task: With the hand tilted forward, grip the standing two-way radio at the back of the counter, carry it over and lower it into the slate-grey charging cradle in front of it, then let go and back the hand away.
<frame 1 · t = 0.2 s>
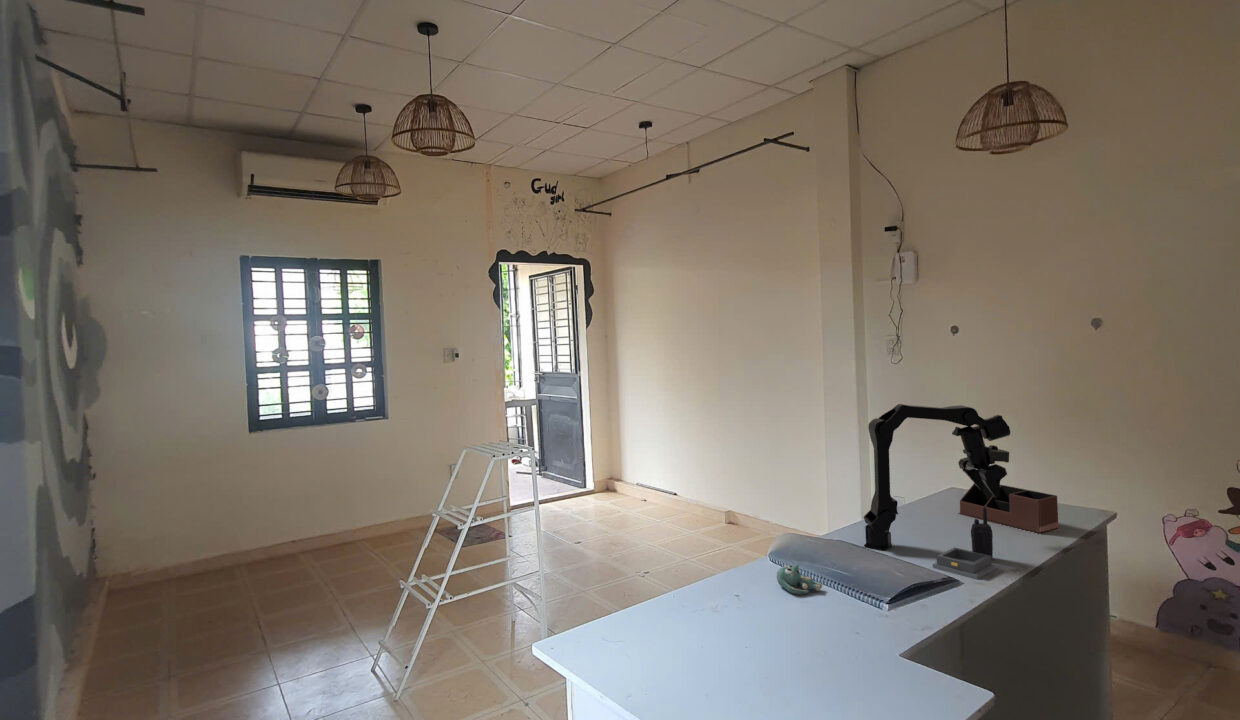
hand: (989, 493, 195), 15 cm above the table, fingers open, 9 cm apart
stuffed animal: (799, 589, 169), on the table
desk organizer: (1006, 522, 216), on the table
two-way radio: (983, 559, 183), on the table
charging cradle: (964, 568, 177), on the table
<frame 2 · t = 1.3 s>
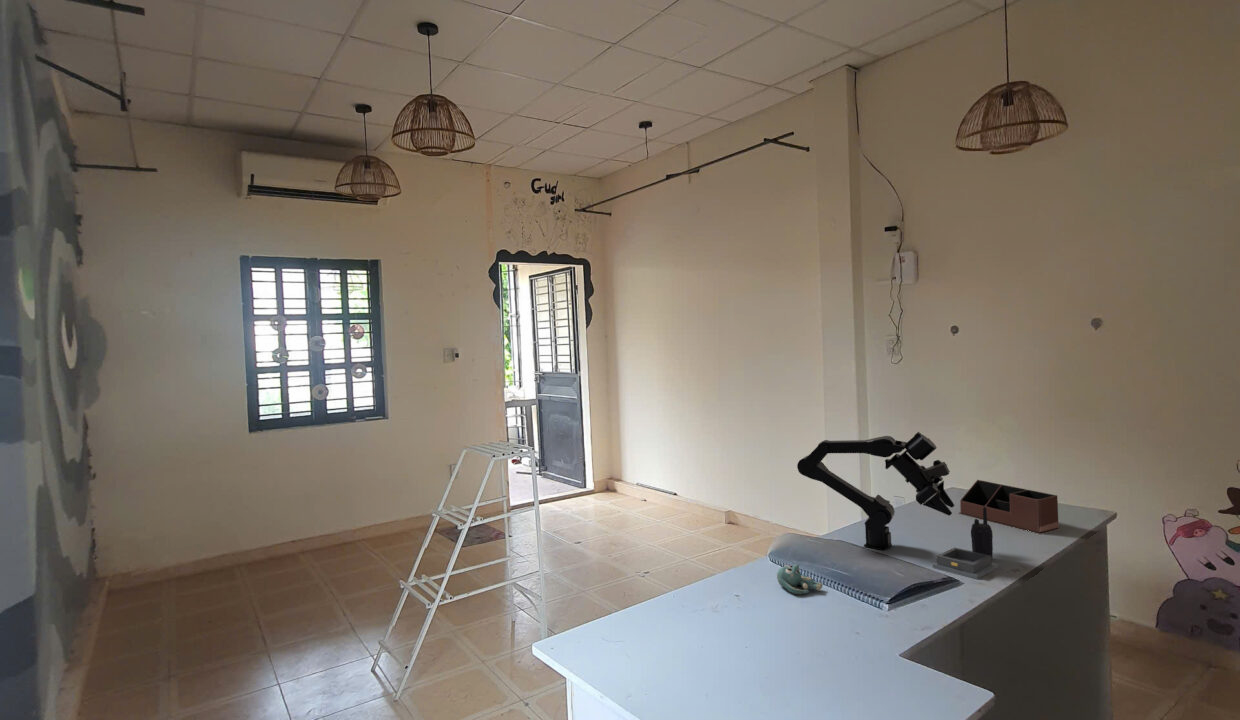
hand: (952, 510, 187), 13 cm above the table, fingers open, 9 cm apart
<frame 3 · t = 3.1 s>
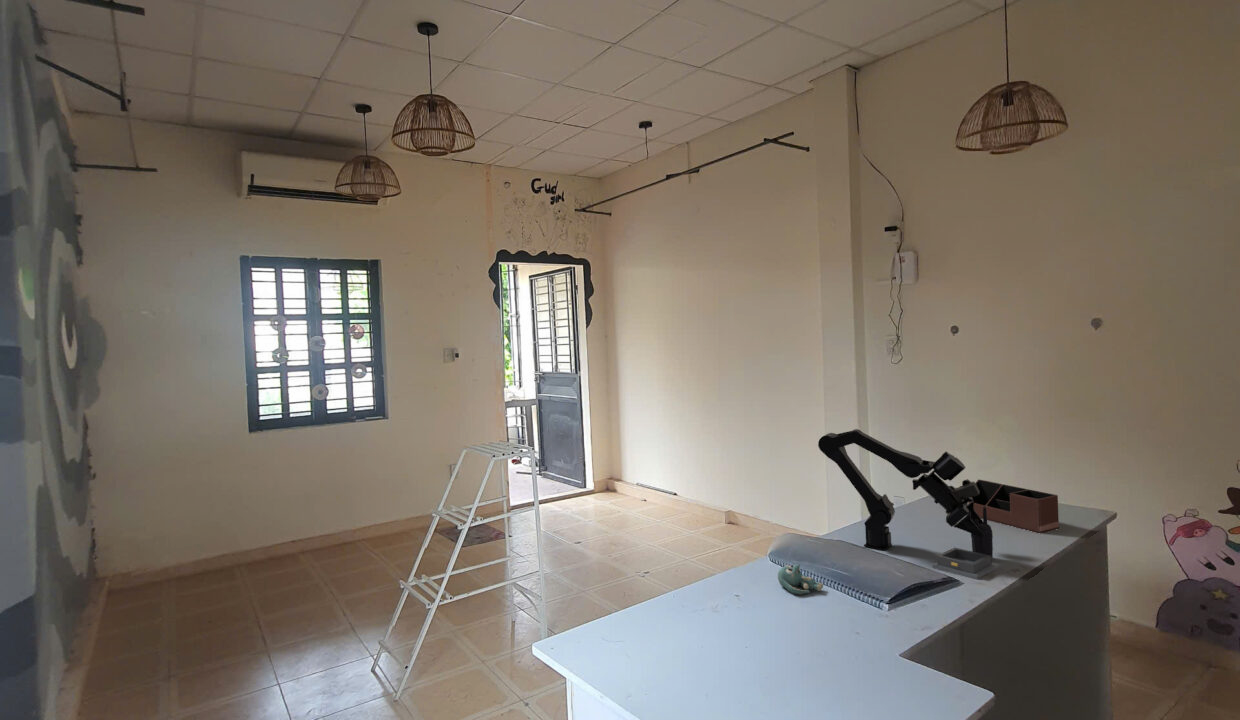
hand: (983, 531, 182), 8 cm above the table, fingers open, 9 cm apart
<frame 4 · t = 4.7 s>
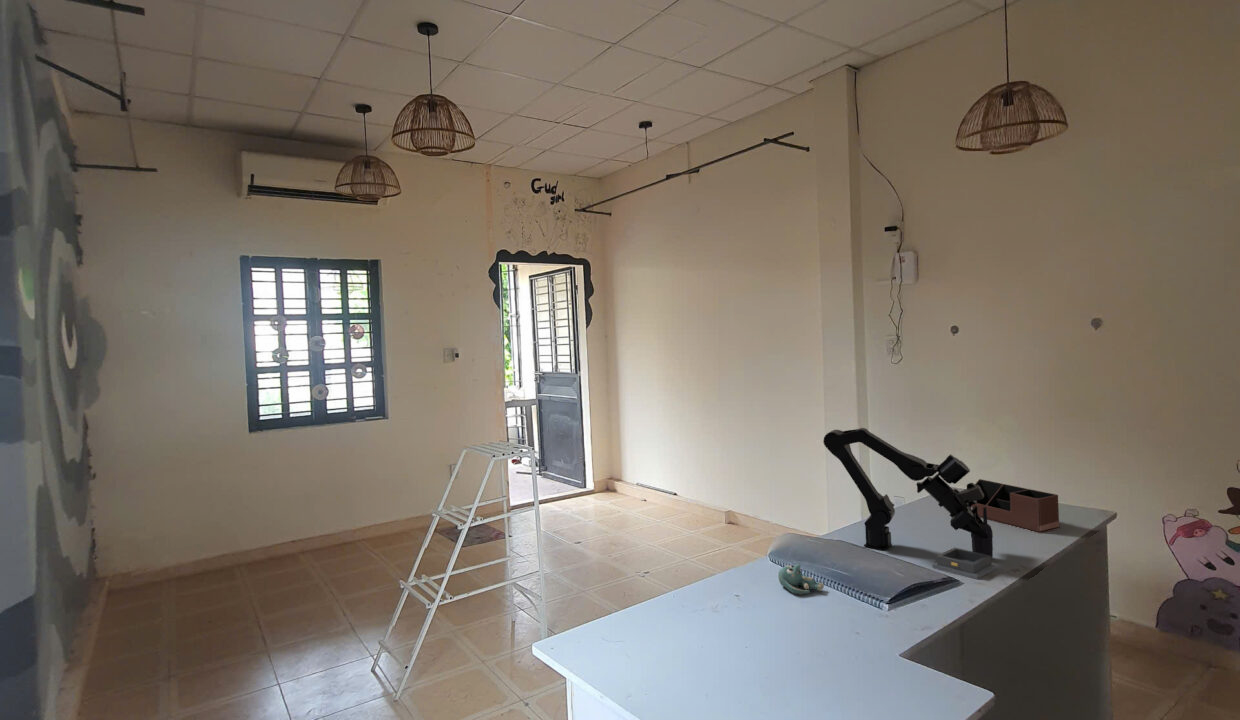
hand: (988, 535, 182), 7 cm above the table, fingers closed on two-way radio, 5 cm apart
two-way radio: (983, 559, 183), on the table, touching gripper
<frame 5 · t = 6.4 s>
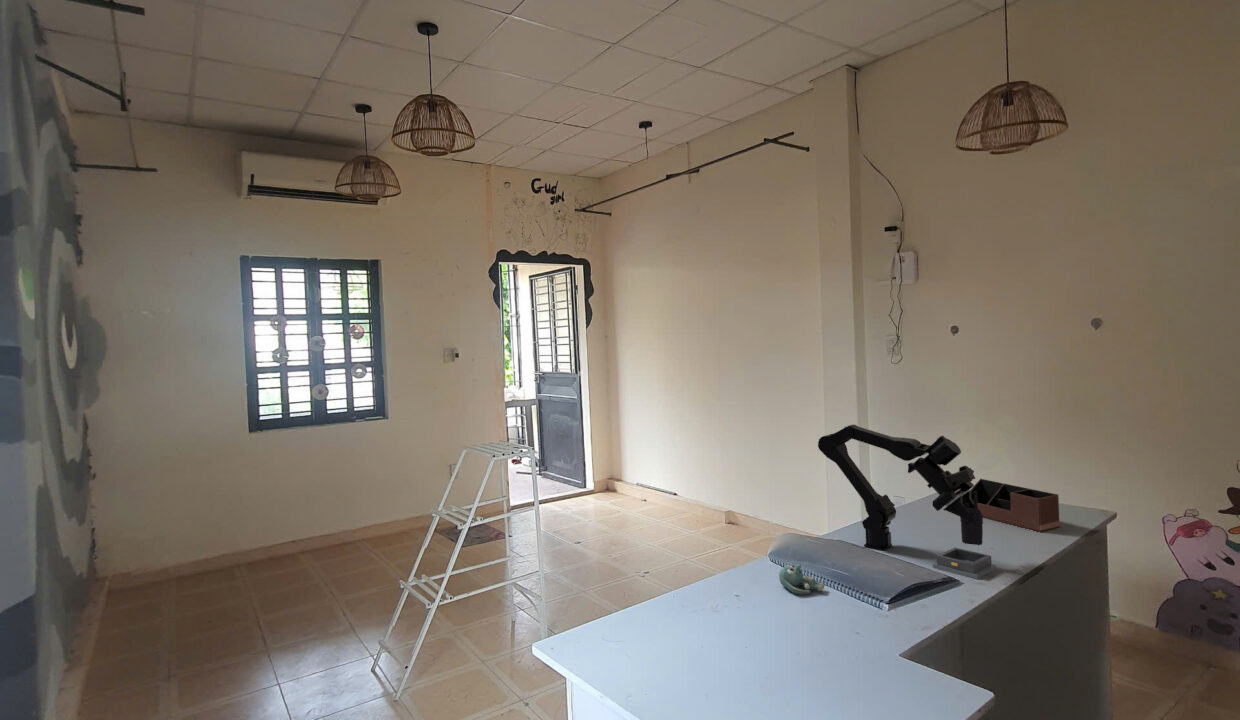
hand: (976, 519, 178), 13 cm above the table, fingers closed on two-way radio, 5 cm apart
two-way radio: (972, 545, 178), point 6 cm above the table, touching gripper
when the fingers open (9 cm above the table, at t = 8.6 s): two-way radio stays where it is, resting on charging cradle.
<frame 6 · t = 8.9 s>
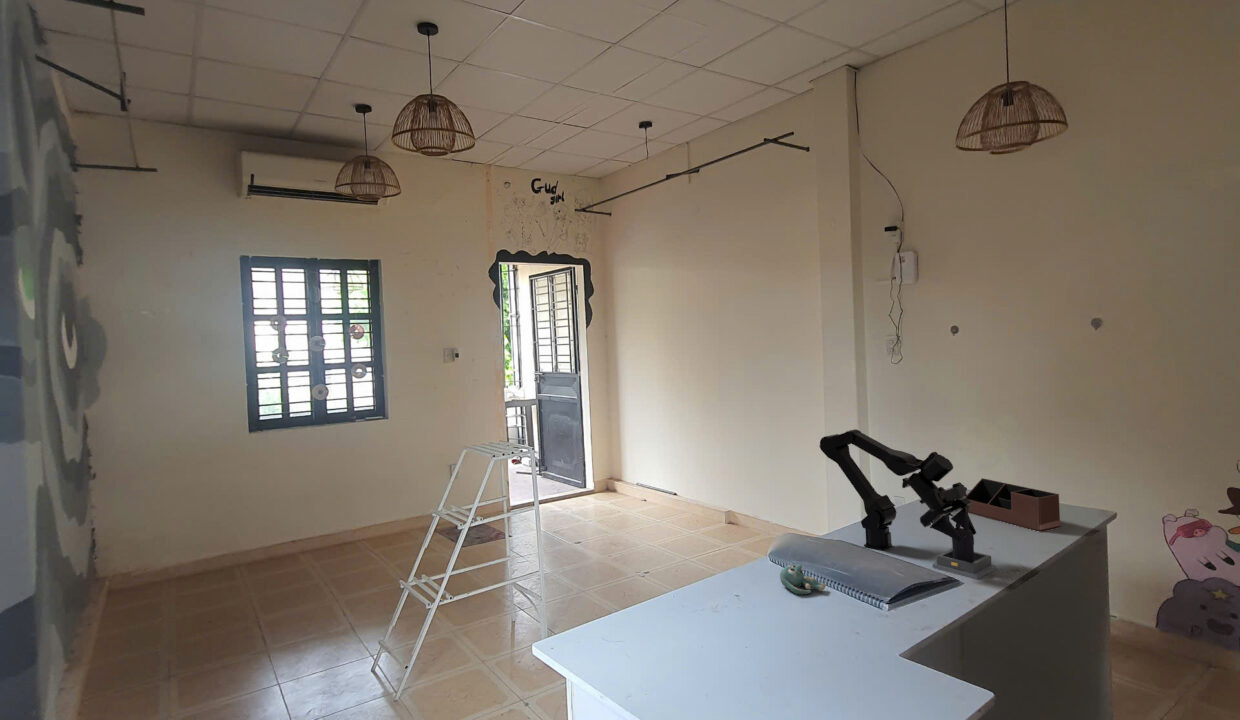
hand: (968, 537, 175), 9 cm above the table, fingers open, 8 cm apart
two-way radio: (963, 565, 176), point 1 cm above the table, touching charging cradle
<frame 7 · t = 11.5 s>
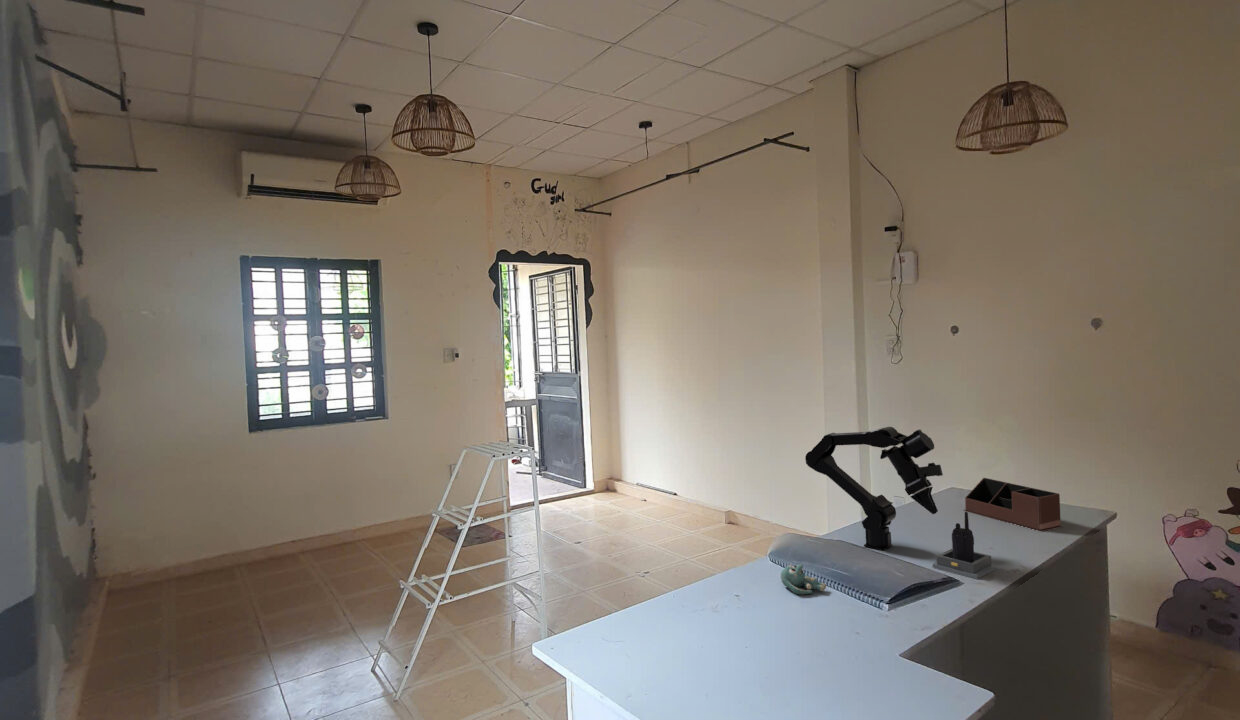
hand: (935, 513, 185), 13 cm above the table, fingers open, 9 cm apart
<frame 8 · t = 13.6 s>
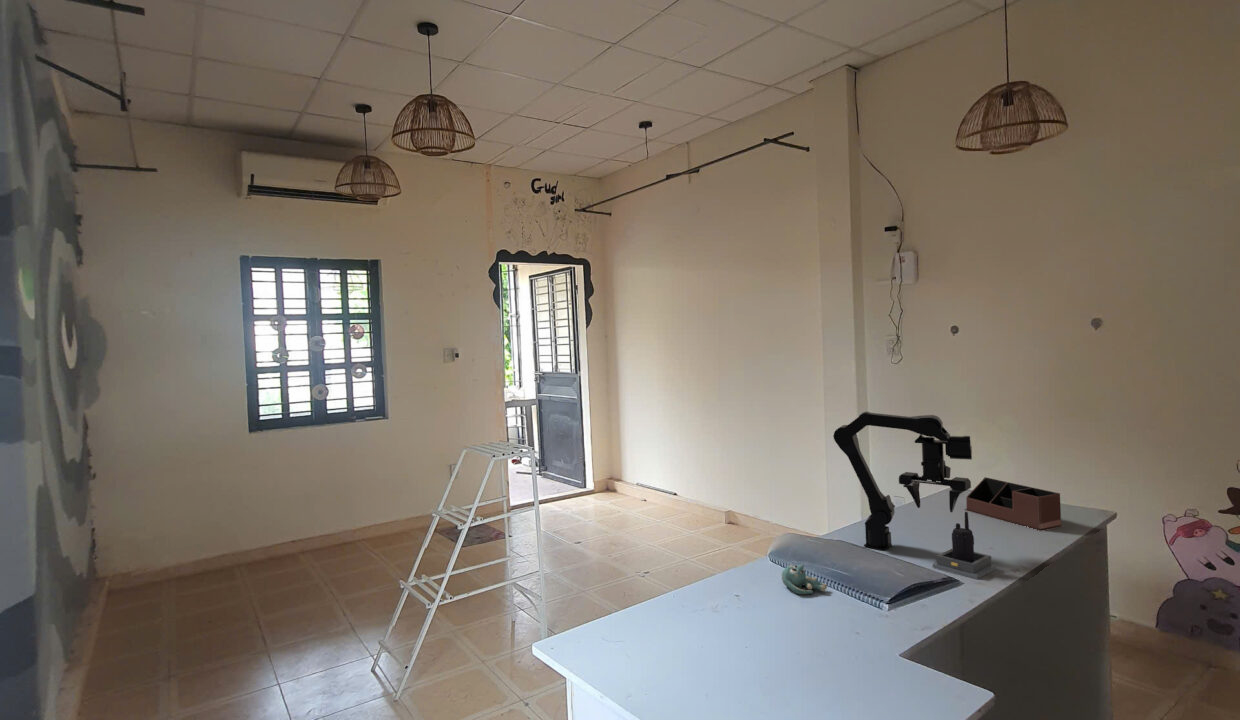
hand: (935, 509, 189), 13 cm above the table, fingers open, 9 cm apart
at the end: two-way radio 0.6 cm off-centre on the charging cradle, point 0.8 cm above the charging cradle's base; two-way radio tilted 0°; the gripper is holding nothing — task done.
